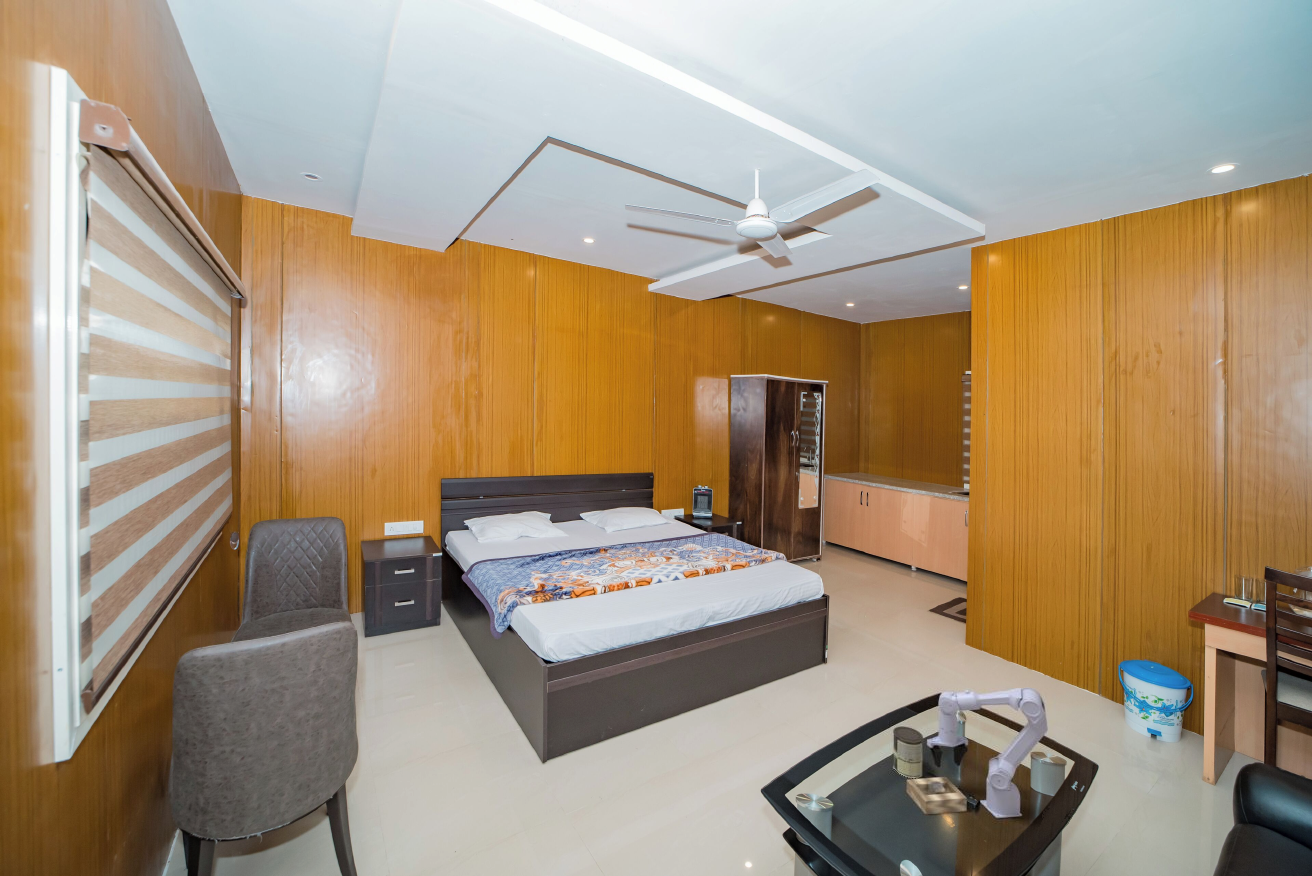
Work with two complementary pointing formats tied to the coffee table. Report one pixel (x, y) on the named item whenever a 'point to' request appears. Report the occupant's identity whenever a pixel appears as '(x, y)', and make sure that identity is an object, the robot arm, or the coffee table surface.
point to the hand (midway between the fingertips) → (947, 764)
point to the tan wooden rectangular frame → (936, 796)
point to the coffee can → (908, 752)
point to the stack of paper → (935, 788)
